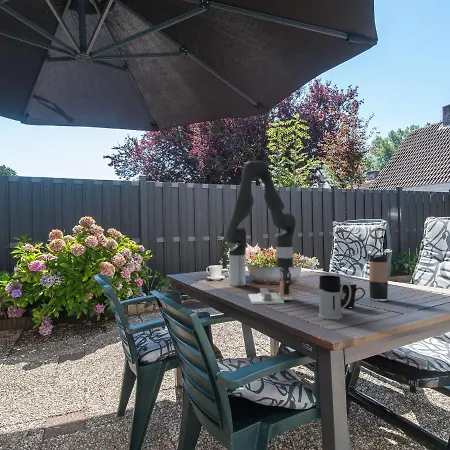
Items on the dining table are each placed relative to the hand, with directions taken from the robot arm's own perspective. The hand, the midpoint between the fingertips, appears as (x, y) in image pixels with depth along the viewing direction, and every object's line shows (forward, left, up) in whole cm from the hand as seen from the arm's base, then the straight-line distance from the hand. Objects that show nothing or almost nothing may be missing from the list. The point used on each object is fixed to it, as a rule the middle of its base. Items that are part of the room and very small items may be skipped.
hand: (285, 292), depth 156 cm
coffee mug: (+17, +23, -3) cm, 29 cm away
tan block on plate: (0, 0, -2) cm, 2 cm away
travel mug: (+5, +42, -3) cm, 42 cm away
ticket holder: (0, -9, -3) cm, 10 cm away
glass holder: (+32, +12, -3) cm, 34 cm away
